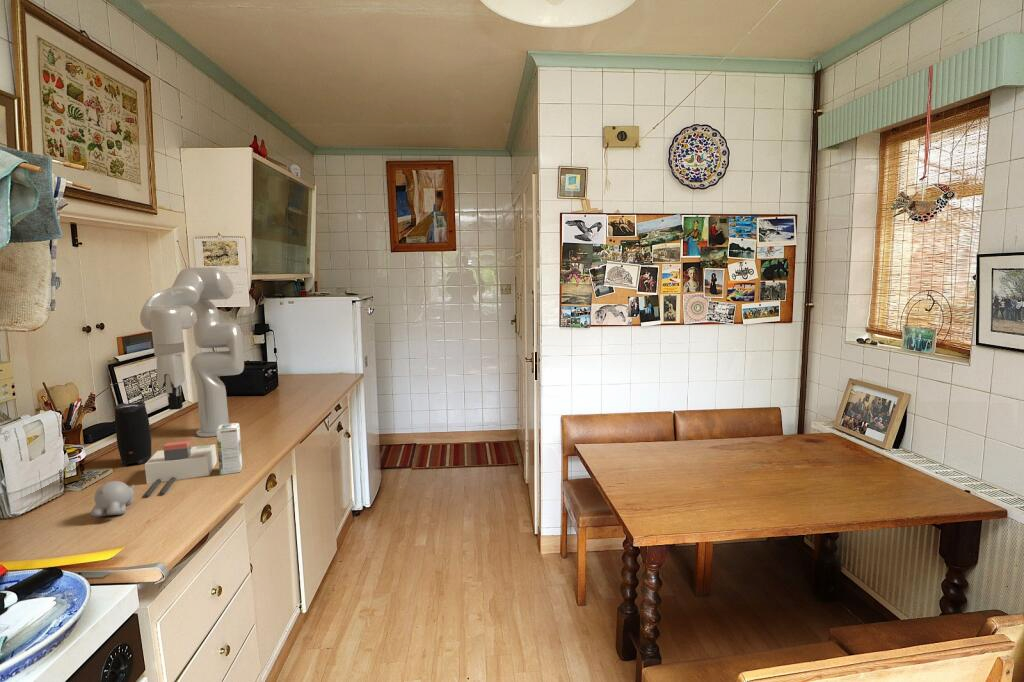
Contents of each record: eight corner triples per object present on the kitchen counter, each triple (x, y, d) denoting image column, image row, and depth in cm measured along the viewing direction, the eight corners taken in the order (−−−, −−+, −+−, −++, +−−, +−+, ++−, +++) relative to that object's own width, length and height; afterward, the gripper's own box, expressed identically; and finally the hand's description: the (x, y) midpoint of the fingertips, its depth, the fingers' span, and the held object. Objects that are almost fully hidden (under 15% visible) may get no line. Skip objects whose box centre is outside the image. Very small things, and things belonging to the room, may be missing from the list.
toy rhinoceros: (144, 512, 135) (149, 479, 137) (115, 516, 123) (120, 480, 126) (116, 513, 134) (121, 480, 136) (83, 517, 123) (89, 481, 125)
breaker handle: (167, 457, 151) (166, 443, 150) (190, 454, 153) (189, 440, 153) (164, 460, 148) (163, 446, 148) (188, 457, 150) (186, 443, 150)
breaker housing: (159, 469, 158) (157, 450, 157) (217, 461, 164) (215, 444, 163) (146, 483, 147) (144, 464, 146) (208, 475, 152) (207, 456, 152)
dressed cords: (157, 482, 148) (156, 478, 148) (176, 480, 149) (175, 476, 149) (144, 498, 138) (143, 494, 137) (164, 495, 139) (164, 491, 139)
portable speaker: (140, 467, 160) (133, 407, 157) (112, 466, 160) (104, 408, 158) (160, 457, 169) (153, 400, 166) (133, 457, 169) (126, 400, 166)
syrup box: (222, 469, 158) (217, 424, 156) (243, 465, 160) (239, 422, 158) (219, 475, 152) (215, 429, 150) (241, 472, 155) (237, 427, 153)
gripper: (162, 346, 155) (168, 403, 157) (146, 354, 141) (153, 416, 144) (190, 344, 157) (196, 401, 160) (177, 352, 143) (183, 414, 146)
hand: (176, 408), depth 152 cm, fingers closed
